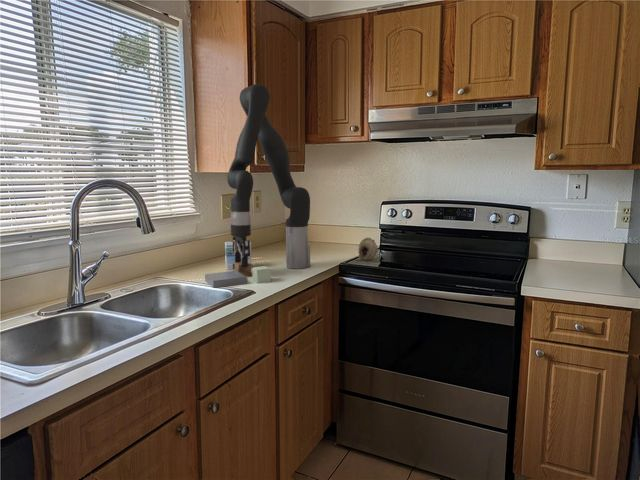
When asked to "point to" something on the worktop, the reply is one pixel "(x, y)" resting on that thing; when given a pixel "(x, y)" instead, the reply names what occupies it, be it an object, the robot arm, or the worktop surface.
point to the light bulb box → (232, 256)
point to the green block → (261, 274)
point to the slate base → (225, 279)
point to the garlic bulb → (367, 249)
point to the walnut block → (243, 269)
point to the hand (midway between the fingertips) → (241, 265)
